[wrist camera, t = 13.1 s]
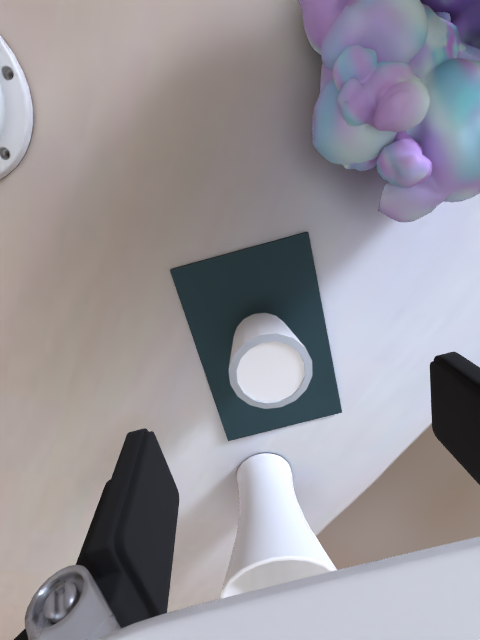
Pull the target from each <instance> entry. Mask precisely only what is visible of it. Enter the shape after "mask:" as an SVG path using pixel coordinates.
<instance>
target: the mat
mask: <svg viewBox="0 0 480 640" xmlns="http://www.w3.org/2000/svg"><path fill="white" fill-rule="evenodd" d="M170 272H171V275H172V277H173V280H174V283H175V286H176V289H177V292H178V295H179V298H180V301H181V304H182V307H183V310H184V313H185V316H186V319H187V321H188V324H189V327H190V330H191V333H192V336H193V339H194V342H195V345H196V348H197V351H198V354H199V357H200V360H201V363H202V365H203V368H204V371H205V374H206V377H207V380H208V383H209V386H210V389H211V392H212V395H213V398H214V401H215V404H216V407H217V409H218V412H219V415H220V418H221V421H222V424H223V427H224V430H225V433H226V436H227V439H228V441H230V440H234V439H238V438H242V437H246V436H250V435H254V434H258V433H262V432H266V431H270V430H274V429H278V428H282V427H286V426H290V425H294V424H298V423H302V422H306V421H310V420H314V419H318V418H322V417H326V416H330V415H334V414H338V413H342V410H341V405H340V399H339V394H338V389H337V383H336V378H335V373H334V367H333V362H332V357H331V351H330V346H329V341H328V336H327V330H326V325H325V320H324V314H323V309H322V304H321V298H320V293H319V288H318V282H317V277H316V272H315V266H314V261H313V256H312V250H311V245H310V240H309V234H308V232H305V233H301V234H297V235H294V236H290V237H287V238H283V239H279V240H276V241H272V242H268V243H265V244H261V245H257V246H254V247H250V248H246V249H243V250H239V251H236V252H232V253H228V254H225V255H221V256H217V257H214V258H210V259H206V260H203V261H199V262H196V263H192V264H188V265H185V266H181V267H177V268H174V269H171V270H170ZM257 313H268V314H272V315H275V316H277V317H278V318H279V319H281V320H282V321H283V322H284V323H285V324H286V325H287V326H288V328H289V329H290V330H291V331H292V332H293V333H294V335H295V336H296V337H297V338H298V339H299V341H300V342H301V343H302V344H303V345H304V347H305V348H306V350H307V352H308V354H309V356H310V358H311V360H312V378H311V380H310V383H309V385H308V387H307V390H306V391H305V392H304V393H303V394H302V395H301V396H300V397H299V398H298V399H297V400H296V401H293V402H291V403H289V404H287V405H285V406H283V407H279V408H269V409H264V408H259V407H255V406H251V405H249V404H248V403H246V402H245V401H243V400H242V399H240V398H239V397H238V396H237V394H236V393H235V391H234V390H233V388H232V386H231V385H230V378H229V364H230V357H231V350H232V344H233V337H234V334H235V331H236V328H237V326H238V325H239V324H240V323H241V322H242V321H243V319H245V318H247V317H249V316H251V315H253V314H257Z"/></svg>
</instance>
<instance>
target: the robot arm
mask: <svg viewBox="0 0 480 640" xmlns="http://www.w3.org/2000/svg"><path fill="white" fill-rule="evenodd" d="M12 74H14V76H13V79H12V78H11V76H12ZM32 127H33V106H32V101H31V96H30V91H29V87H28V84H27V81H26V79H25V76H24V73H23V70H22V68H21V67H20V65H19V63H18V61H17V59H16V57H15V56H14V54H13V52H12V51H11V49H10V48H9V47H8V45H7V44H6V43H5V41H4V40H3V39H2V37H1V36H0V179H1V178H3V177H5V176H7V175H8V174H9V173H10V172H11V171H12V170H13V169H14V168H15V167H16V166H17V165H18V164H19V162H20V161H21V159H22V158H23V156H24V155H25V153H26V150H27V148H28V145H29V142H30V140H31V134H32ZM9 152H10V157H9V156H8V153H9ZM430 382H431V409H432V428H433V431H434V434H435V436H436V437H437V439H438V440H439V441H440V442H441V443H442V444H443V445H444V446H445V447H446V449H447V450H448V451H449V452H450V453H451V454H452V455H453V456H454V457H455V458H456V459H457V461H458V462H459V463H460V464H461V465H462V466H463V467H464V468H465V469H466V470H467V472H468V473H469V474H470V475H471V476H472V477H473V478H474V479H475V480H476V481H477V483H478V484H479V485H480V367H478V366H476V365H475V364H473V363H472V362H470V361H469V360H467V359H466V358H464V357H463V356H461V355H460V354H458V353H456V352H450V353H446V354H442V355H438V356H436V357H435V358H434V361H433V362H431V363H430ZM178 507H179V493H178V489H177V487H176V484H175V482H174V480H173V477H172V475H171V472H170V470H169V468H168V465H167V463H166V460H165V458H164V455H163V453H162V451H161V448H160V446H159V443H158V441H157V439H156V436H155V434H154V432H152V431H151V432H148V430H147V429H141V430H137V431H133V432H129V433H128V434H127V436H126V439H125V442H124V444H123V447H122V450H121V453H120V456H119V459H118V461H117V464H116V467H115V470H114V473H113V475H112V478H111V480H109V481H108V482H107V483H106V485H105V487H104V490H103V493H102V495H101V498H100V501H99V503H98V506H97V509H96V511H95V514H94V517H93V520H92V522H91V525H90V528H89V530H88V533H87V536H86V539H85V541H84V544H83V547H82V549H81V552H80V555H79V557H78V560H77V563H76V565H72V566H68V567H66V568H64V569H61V570H59V571H58V572H56V573H55V574H54V575H52V576H51V577H50V578H49V579H48V580H47V581H46V582H45V583H44V584H43V585H42V586H41V587H40V588H39V589H38V591H37V592H36V593H35V595H34V596H33V598H32V600H31V602H30V604H29V606H28V608H27V612H26V616H25V629H24V630H23V631H22V632H21V633H20V634H19V635H18V636H17V637H16V638H15V639H14V640H480V537H476V538H471V539H467V540H463V541H458V542H454V543H450V544H446V545H441V546H437V547H433V548H428V549H424V550H420V551H416V552H411V553H407V554H404V555H399V556H394V557H390V558H386V559H382V560H378V561H373V562H370V563H365V564H361V565H357V566H353V567H348V568H344V569H340V570H336V571H332V572H328V573H323V574H319V575H315V576H311V577H307V578H303V579H299V580H295V581H290V582H286V583H282V584H278V585H274V586H270V587H266V588H262V589H258V590H254V591H250V592H246V593H242V594H238V595H233V596H229V597H225V598H221V599H217V600H214V601H210V602H206V603H202V604H199V605H195V606H191V607H187V608H184V609H180V610H176V611H172V612H169V613H167V606H168V597H169V588H170V579H171V570H172V561H173V552H174V543H175V534H176V525H177V516H178Z"/></svg>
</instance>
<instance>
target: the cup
mask: <svg viewBox="0 0 480 640" xmlns="http://www.w3.org/2000/svg"><path fill="white" fill-rule="evenodd" d="M237 483H238V489H239V495H240V509H239V520H238V528H237V535H236V540H235V543H234V547H233V551H232V555H231V559H230V562H229V566H228V570H227V573H226V577H225V580H224V584H223V587H222V591H221V594H220V598H219V599H221V598H225V597H229V596H233V595H238V594H242V593H246V592H250V591H254V590H258V589H262V588H266V587H270V586H274V585H278V584H282V583H286V582H290V581H295V580H299V579H303V578H307V577H311V576H315V575H319V574H323V573H328V572H332V571H336V570H337V569H336V568H335V566H334V565H333V563H332V562H331V561H330V559H329V557H328V556H327V554H326V553H325V551H324V549H323V548H322V546H321V545H320V543H319V541H318V540H317V538H316V536H315V535H314V533H313V532H312V530H311V528H310V527H309V525H308V524H307V521H306V519H305V517H304V515H303V513H302V511H301V508H300V506H299V504H298V501H297V498H296V495H295V492H294V489H293V481H292V473H291V468H290V466H289V464H288V463H287V462H286V460H284V459H283V458H282V457H280V456H277V455H275V454H268V453H264V454H257V455H254V456H252V457H250V458H248V459H246V460H245V461H244V462H243V463H242V464H241V465H240V467H239V469H238V472H237Z"/></svg>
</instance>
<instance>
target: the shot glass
mask: <svg viewBox="0 0 480 640" xmlns="http://www.w3.org/2000/svg"><path fill="white" fill-rule="evenodd" d="M229 378H230V385H231V386H232V388H233V390H234V391H235V393H236V394H237V396H238V397H239V398H240V399H242V400H243V401H245V402H246V403H248V404H249V405H251V406H255V407H259V408H264V409H269V408H279V407H283V406H285V405H287V404H289V403H291V402H293V401H296V400H297V399H298V398H299V397H300V396H301V395H302V394H303V393H304V392H305V391H306V390H307V387H308V385H309V383H310V380H311V378H312V360H311V358H310V356H309V354H308V352H307V350H306V348H305V347H304V345H303V344H302V343H301V342H300V341H299V339H298V338H297V337H296V336H295V335H294V333H293V332H292V331H291V330H290V329H289V328H288V326H287V325H286V324H285V323H284V322H283V321H282V320H281V319H279V318H278V317H277V316H275V315H272V314H268V313H257V314H253V315H251V316H249V317H247V318H245V319H243V321H242V322H241V323H240V324H239V325H238V326H237V328H236V331H235V334H234V337H233V344H232V350H231V357H230V364H229Z"/></svg>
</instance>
